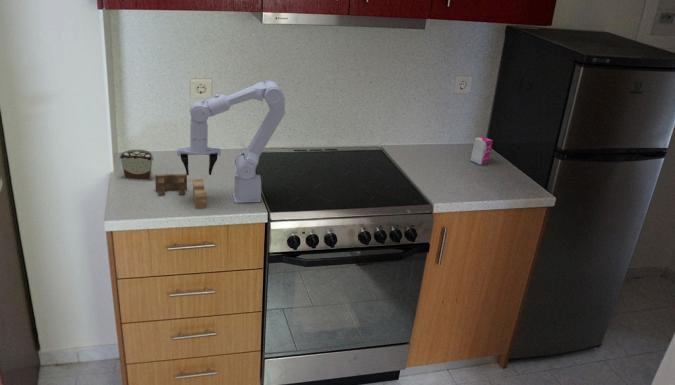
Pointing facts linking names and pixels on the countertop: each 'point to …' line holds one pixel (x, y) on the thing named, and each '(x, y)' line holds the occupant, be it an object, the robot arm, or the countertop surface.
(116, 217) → the countertop surface
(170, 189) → the brown wooden stool
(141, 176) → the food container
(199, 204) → the rail
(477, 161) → the supplement box
